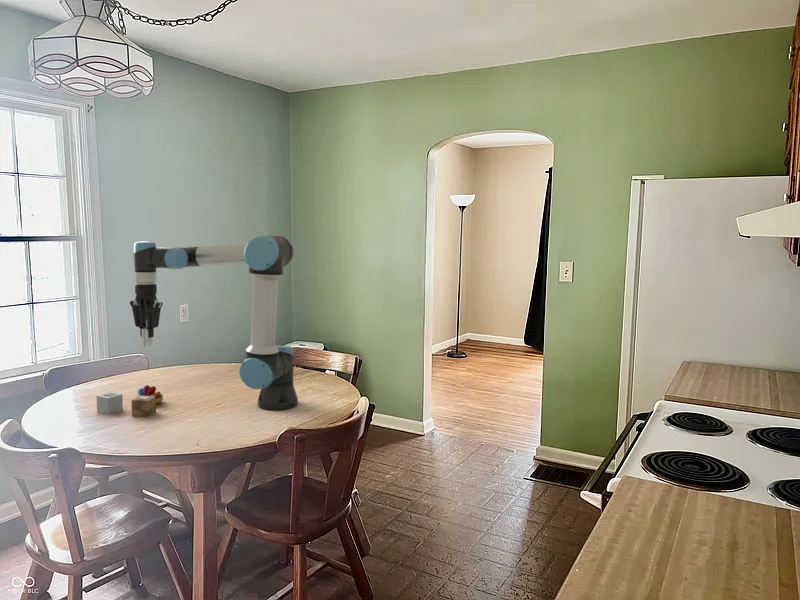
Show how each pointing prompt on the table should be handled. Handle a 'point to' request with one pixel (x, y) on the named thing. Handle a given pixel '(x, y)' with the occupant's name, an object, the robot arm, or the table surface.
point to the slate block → (109, 403)
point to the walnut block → (143, 406)
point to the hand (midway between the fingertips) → (147, 345)
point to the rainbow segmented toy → (150, 393)
